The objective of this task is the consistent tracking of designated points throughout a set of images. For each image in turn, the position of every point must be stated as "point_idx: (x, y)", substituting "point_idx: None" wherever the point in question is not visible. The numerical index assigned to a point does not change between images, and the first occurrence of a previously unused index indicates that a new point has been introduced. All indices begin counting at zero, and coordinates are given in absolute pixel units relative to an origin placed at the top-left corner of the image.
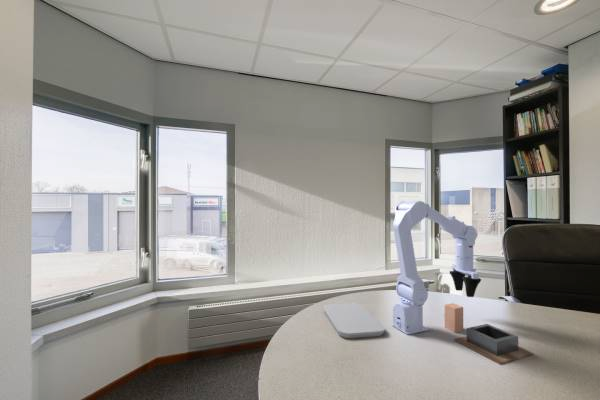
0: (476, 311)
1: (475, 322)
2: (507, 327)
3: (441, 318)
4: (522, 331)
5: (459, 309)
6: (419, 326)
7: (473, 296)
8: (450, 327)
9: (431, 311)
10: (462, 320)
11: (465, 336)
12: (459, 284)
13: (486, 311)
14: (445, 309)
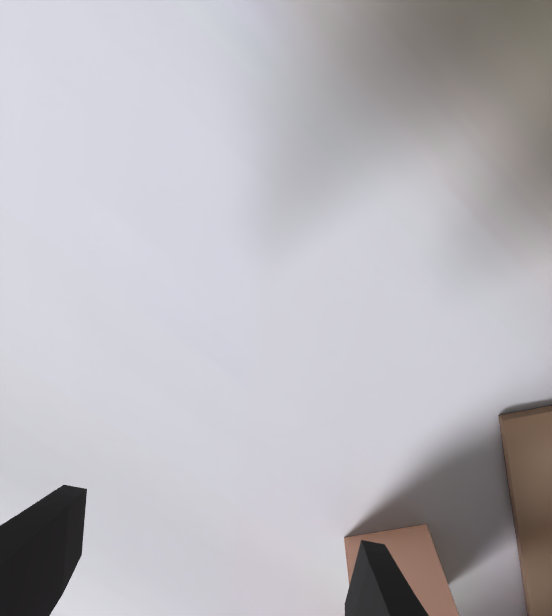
0: (76, 135)
1: (310, 337)
2: (445, 141)
3: (211, 531)
4: (542, 72)
5: None
6: None
7: (390, 554)
8: None
9: None
10: (447, 589)
11: (527, 590)
12: (32, 589)
13: (77, 22)
14: None
